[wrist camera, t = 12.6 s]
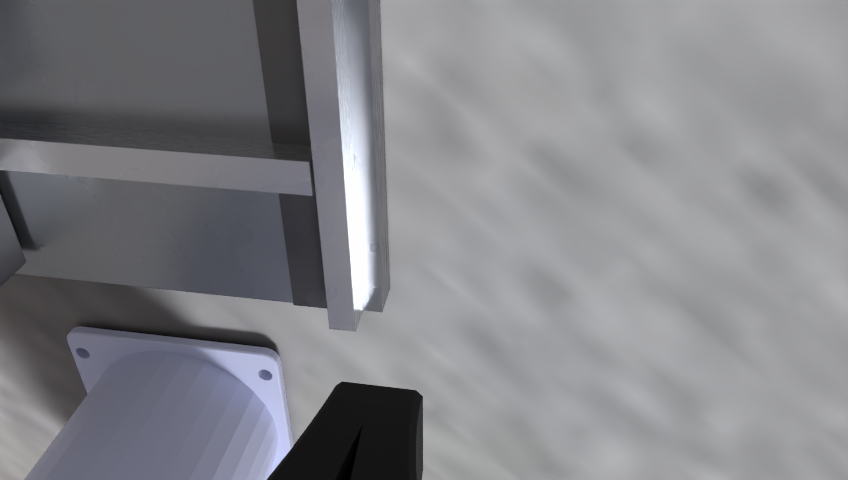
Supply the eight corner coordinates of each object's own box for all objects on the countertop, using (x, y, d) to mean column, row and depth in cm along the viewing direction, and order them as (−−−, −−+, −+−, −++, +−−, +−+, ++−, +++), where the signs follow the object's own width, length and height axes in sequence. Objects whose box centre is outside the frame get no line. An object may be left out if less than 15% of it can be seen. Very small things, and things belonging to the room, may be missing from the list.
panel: (390, 288, 23) (375, 333, 21) (-158, 233, 26) (-212, 269, 24) (367, -359, 14) (338, -375, 12) (-475, -340, 17) (-601, -351, 15)
